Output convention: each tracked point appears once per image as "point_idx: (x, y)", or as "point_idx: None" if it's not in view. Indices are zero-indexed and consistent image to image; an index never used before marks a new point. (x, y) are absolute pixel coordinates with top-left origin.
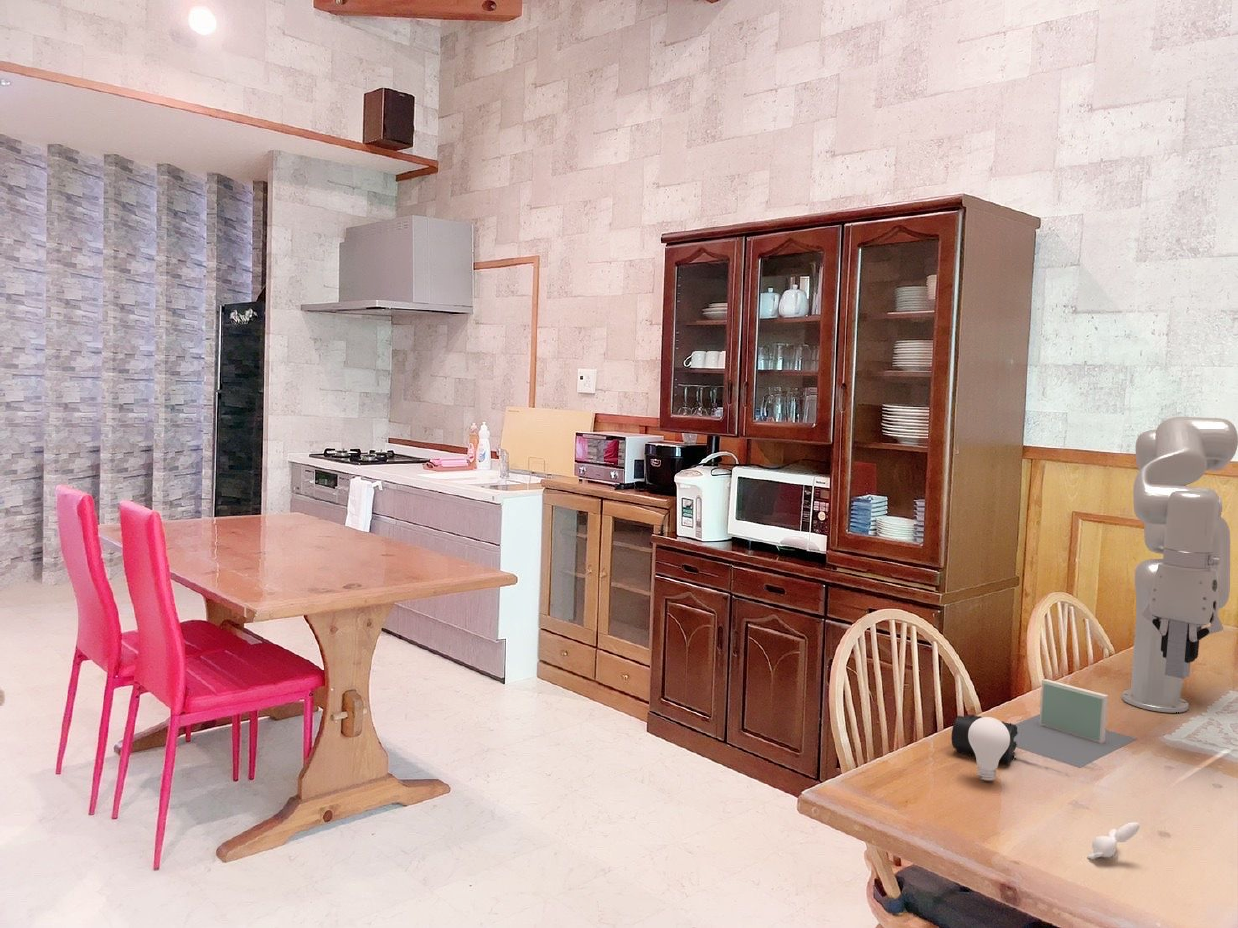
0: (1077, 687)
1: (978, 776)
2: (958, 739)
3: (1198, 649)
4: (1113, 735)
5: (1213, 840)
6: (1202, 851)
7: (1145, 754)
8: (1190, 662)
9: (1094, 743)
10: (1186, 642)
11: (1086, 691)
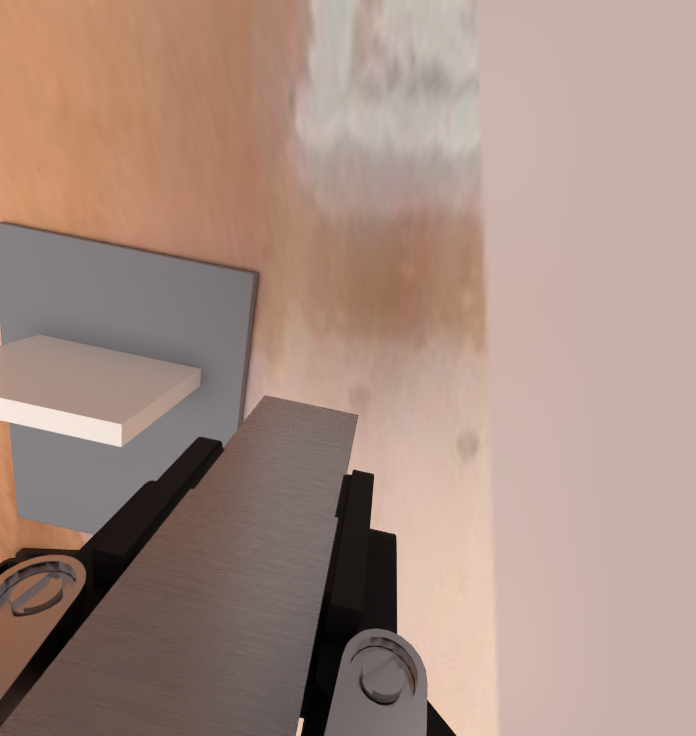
0: (13, 401)
1: None
2: None
3: (396, 574)
4: (198, 295)
5: (476, 692)
6: (464, 732)
7: (296, 344)
8: (349, 454)
9: (188, 398)
10: (300, 713)
11: (55, 430)
